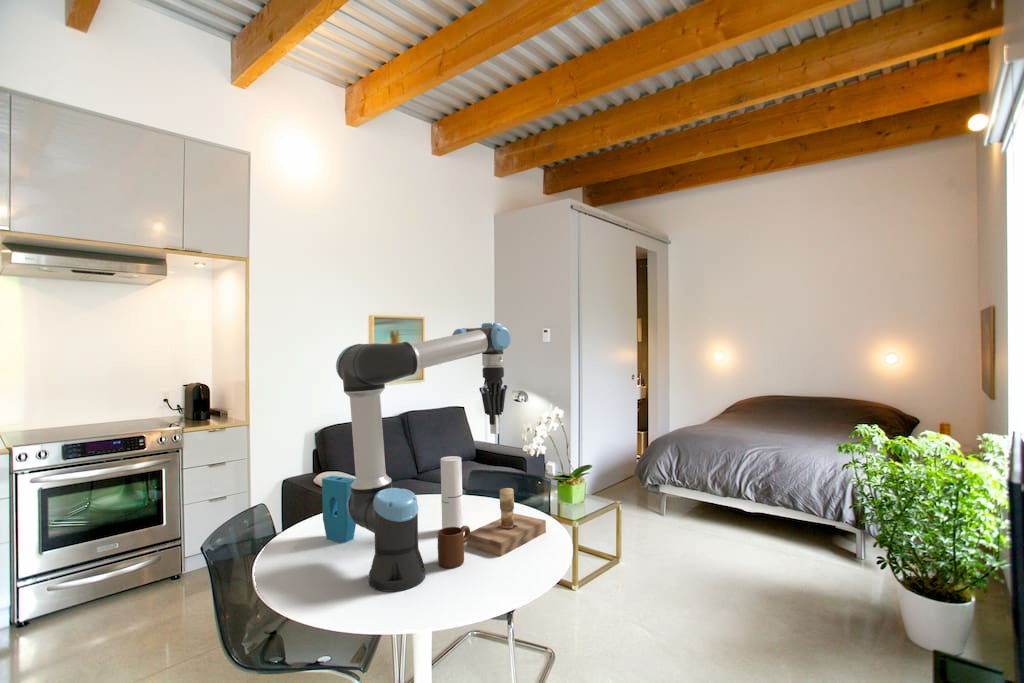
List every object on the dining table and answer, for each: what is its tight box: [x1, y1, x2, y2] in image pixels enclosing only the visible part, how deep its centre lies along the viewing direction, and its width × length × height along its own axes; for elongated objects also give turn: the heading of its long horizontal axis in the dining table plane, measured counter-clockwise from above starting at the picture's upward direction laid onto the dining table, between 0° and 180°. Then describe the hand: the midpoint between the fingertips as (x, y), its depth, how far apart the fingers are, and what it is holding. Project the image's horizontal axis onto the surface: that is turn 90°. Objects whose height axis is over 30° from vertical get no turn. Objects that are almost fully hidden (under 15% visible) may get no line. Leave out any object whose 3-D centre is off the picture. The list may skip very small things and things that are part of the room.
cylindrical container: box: [440, 455, 464, 529], centre depth 177 cm, size 7×7×25 cm
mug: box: [437, 525, 471, 569], centre depth 153 cm, size 12×8×9 cm, turn 143°
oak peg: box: [499, 487, 515, 531], centre depth 169 cm, size 5×5×16 cm
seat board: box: [466, 512, 547, 557], centre depth 169 cm, size 24×14×4 cm, turn 142°
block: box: [321, 475, 357, 544], centre depth 173 cm, size 12×5×20 cm, turn 59°
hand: (494, 433), depth 182 cm, fingers closed
